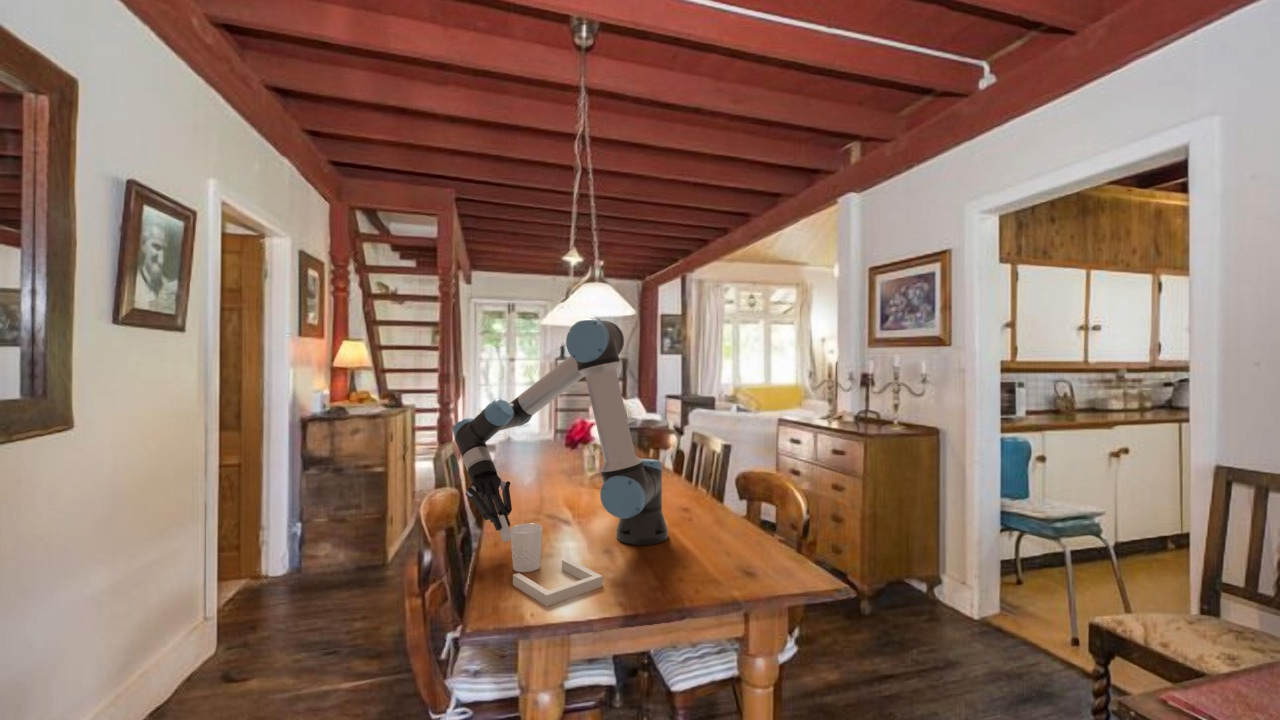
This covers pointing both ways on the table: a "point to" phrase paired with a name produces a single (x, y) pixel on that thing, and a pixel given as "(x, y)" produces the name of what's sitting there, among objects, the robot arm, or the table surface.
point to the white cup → (526, 547)
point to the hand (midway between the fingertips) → (507, 539)
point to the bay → (547, 598)
